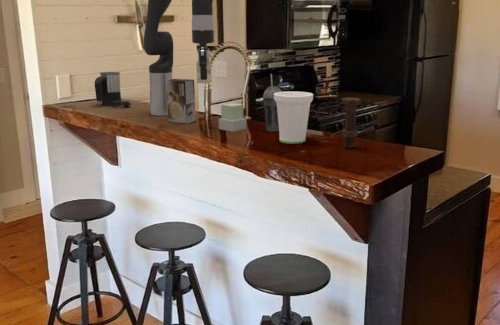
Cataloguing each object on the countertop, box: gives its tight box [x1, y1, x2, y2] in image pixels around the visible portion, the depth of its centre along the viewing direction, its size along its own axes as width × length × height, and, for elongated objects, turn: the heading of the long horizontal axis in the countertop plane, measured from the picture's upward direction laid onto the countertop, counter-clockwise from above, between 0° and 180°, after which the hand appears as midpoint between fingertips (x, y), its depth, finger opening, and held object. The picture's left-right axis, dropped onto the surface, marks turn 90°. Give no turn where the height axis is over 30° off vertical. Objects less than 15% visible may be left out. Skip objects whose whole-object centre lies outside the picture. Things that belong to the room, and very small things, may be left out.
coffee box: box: [166, 78, 196, 125], centre depth 202 cm, size 9×6×16 cm
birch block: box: [196, 61, 212, 84], centre depth 186 cm, size 5×5×7 cm
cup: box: [274, 90, 314, 145], centre depth 169 cm, size 12×12×15 cm
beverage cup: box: [262, 73, 283, 133], centre depth 185 cm, size 7×7×20 cm
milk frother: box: [94, 71, 132, 108], centre depth 239 cm, size 14×16×15 cm
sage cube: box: [220, 102, 244, 121], centre depth 189 cm, size 6×6×5 cm
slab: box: [218, 117, 247, 133], centre depth 190 cm, size 7×7×4 cm
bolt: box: [340, 97, 362, 149], centre depth 161 cm, size 6×5×15 cm
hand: (204, 78), depth 186 cm, fingers closed on birch block, 4 cm apart
